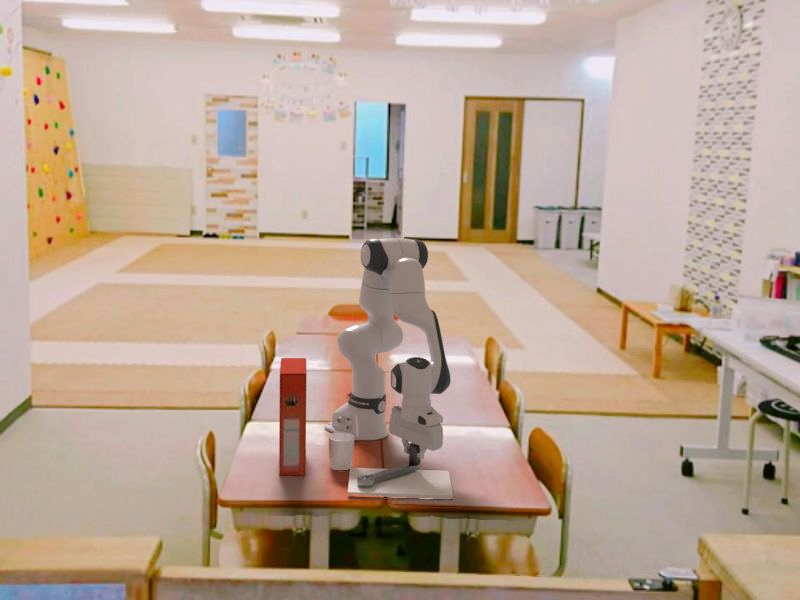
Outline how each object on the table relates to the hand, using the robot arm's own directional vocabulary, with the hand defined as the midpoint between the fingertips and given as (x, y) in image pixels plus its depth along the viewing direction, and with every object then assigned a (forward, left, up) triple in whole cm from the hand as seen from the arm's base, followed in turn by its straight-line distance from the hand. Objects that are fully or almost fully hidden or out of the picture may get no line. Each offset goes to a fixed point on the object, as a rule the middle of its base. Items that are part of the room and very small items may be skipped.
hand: (414, 455), depth 263 cm
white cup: (-20, -10, -6) cm, 23 cm away
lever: (-2, -10, -4) cm, 11 cm away
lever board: (+2, -9, -6) cm, 11 cm away
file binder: (-32, -19, -6) cm, 38 cm away
